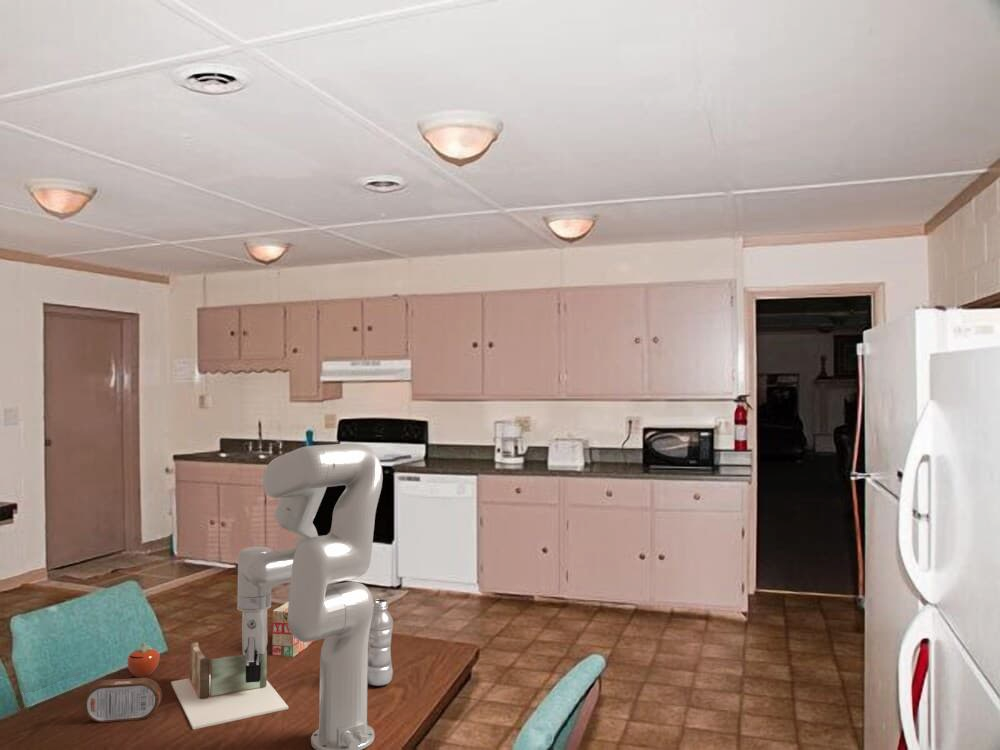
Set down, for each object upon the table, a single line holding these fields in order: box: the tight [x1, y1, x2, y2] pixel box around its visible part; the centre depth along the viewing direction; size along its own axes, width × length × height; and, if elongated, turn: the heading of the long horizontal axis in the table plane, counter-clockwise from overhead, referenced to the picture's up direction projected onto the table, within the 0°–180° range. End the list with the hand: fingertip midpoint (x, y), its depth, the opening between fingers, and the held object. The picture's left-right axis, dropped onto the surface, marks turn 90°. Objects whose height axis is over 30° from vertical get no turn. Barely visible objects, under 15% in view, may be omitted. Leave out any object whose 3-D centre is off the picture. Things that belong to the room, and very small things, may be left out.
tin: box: [83, 677, 163, 723], centre depth 161 cm, size 15×3×8 cm, turn 102°
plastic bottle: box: [367, 598, 394, 687], centre depth 181 cm, size 6×7×20 cm
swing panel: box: [210, 649, 268, 696], centre depth 175 cm, size 12×2×8 cm, turn 119°
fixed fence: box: [189, 641, 211, 699], centre depth 177 cm, size 15×2×9 cm, turn 32°
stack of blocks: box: [271, 601, 315, 658], centre depth 210 cm, size 21×6×12 cm, turn 169°
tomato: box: [126, 642, 161, 678], centre depth 186 cm, size 7×7×8 cm
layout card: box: [170, 673, 289, 730], centre depth 173 cm, size 29×20×1 cm
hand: (253, 680), depth 173 cm, fingers closed
